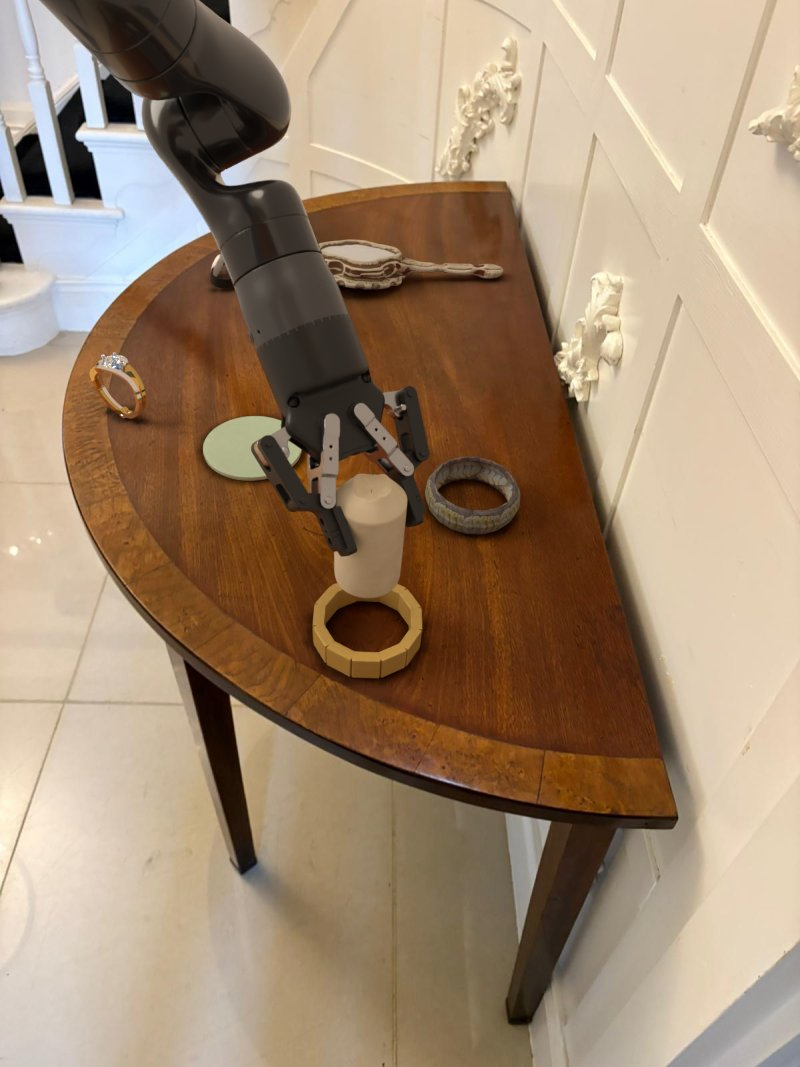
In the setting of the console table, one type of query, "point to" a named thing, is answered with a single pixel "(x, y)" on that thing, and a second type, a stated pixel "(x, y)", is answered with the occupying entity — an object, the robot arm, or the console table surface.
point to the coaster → (241, 447)
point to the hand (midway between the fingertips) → (382, 538)
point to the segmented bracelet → (367, 661)
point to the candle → (372, 534)
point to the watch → (216, 270)
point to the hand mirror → (386, 265)
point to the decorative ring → (467, 518)
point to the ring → (119, 368)
